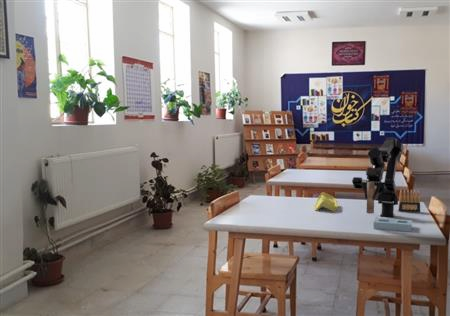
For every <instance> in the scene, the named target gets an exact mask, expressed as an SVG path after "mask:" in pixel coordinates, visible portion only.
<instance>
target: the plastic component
mask: <svg viewBox="0 0 450 316" xmlns="http://www.w3.org/2000/svg"><path fill="white" fill-rule="evenodd" d="M322 207H323V208H325V209H327V210H329V211H331V212H334V211H335V212H336V211H338V210H337V209H338V208H339V204H338V200H337V198H335V197H334V196H332V195H330V194H328V193H327V192H321V193H320V194H319V196H318V198H317V199H316V202H315V205H314V210H315V211H316V212H318V211H319V209H321V208H322Z"/></svg>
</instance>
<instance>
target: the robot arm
mask: <svg viewBox="0 0 450 316" xmlns="http://www.w3.org/2000/svg"><path fill="white" fill-rule="evenodd" d="M404 147H405V146H404V144H403V142H401V141H400V140H398V139H397V138H396V137H386V138H385V141H384V142H383V144H382V145H381V146H380V147H378V146H377V147H376V146H375V147H374V146H373V148H372V149H370V150H369V151H368V152H367V156H368V159H369V163H370V165H372V166H371V167H366V171H365V175H366V179H363V178H362V177H360V176H358V177H355V176H354V177H353V178H352V180H351V182H352V185H353V188H354V189H359V190H363V191H364V198H365V200H367V182H375V186H374V187H375V189H374V197H373V200H374V201H375V200H376V199H377V201H378V202H377V203H378V204H380V205H381V213H380V217H384V218H387V217H388V218H394V217H395V215H396V214H395V213H394V211H395V210H394V209H395V208H394V207H395V206H397V205H398V206H399V199H398V196H397V191H396V190H397V189H396V188H397V186H396V182H395V177H396V171H397V164H398V160H400V158H401V157H402V155H403V152H404ZM386 163H387V164H386ZM385 168H386V169H385ZM384 173H385V177H383V176H384ZM383 178H384V181H382V180H383Z"/></svg>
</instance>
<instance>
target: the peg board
mask: <svg viewBox="0 0 450 316" xmlns="http://www.w3.org/2000/svg"><path fill="white" fill-rule="evenodd" d="M373 229H375V230H387V231H388V230H389V231H397V230H398V231H399V232H400V231H401V232H409V231H411V232H412V231H413V230H412V229H413V220H411V219H401V218H387V217H375V218H374V221H373ZM398 231H397V232H398Z"/></svg>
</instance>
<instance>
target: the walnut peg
mask: <svg viewBox="0 0 450 316" xmlns="http://www.w3.org/2000/svg"><path fill="white" fill-rule="evenodd" d="M375 187H376V186H375V182H367V199H366V213H367V214H369V215H370V214H374V213H375V200H373V197H374V193H375Z"/></svg>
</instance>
